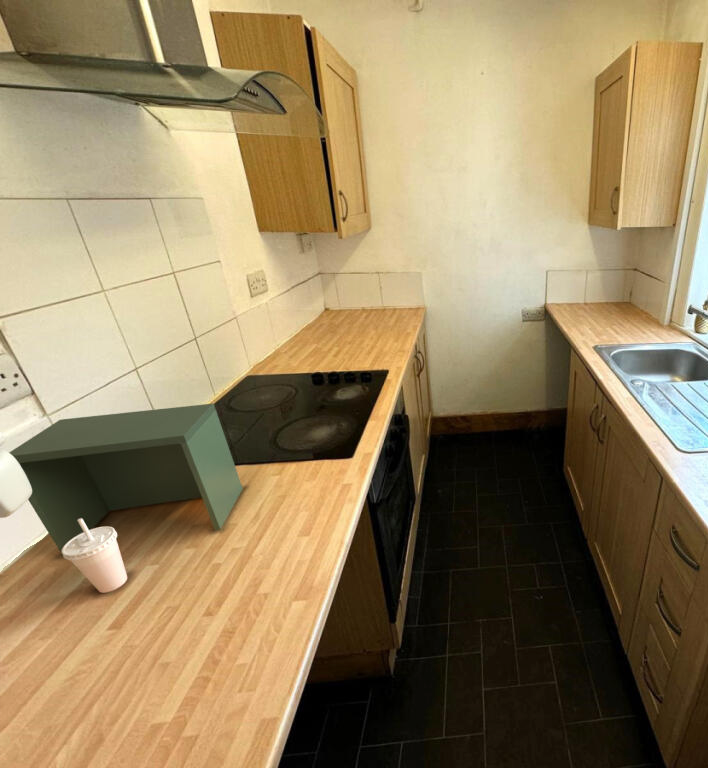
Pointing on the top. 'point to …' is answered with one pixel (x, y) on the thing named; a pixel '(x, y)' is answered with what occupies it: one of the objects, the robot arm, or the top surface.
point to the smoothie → (97, 557)
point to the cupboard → (128, 466)
